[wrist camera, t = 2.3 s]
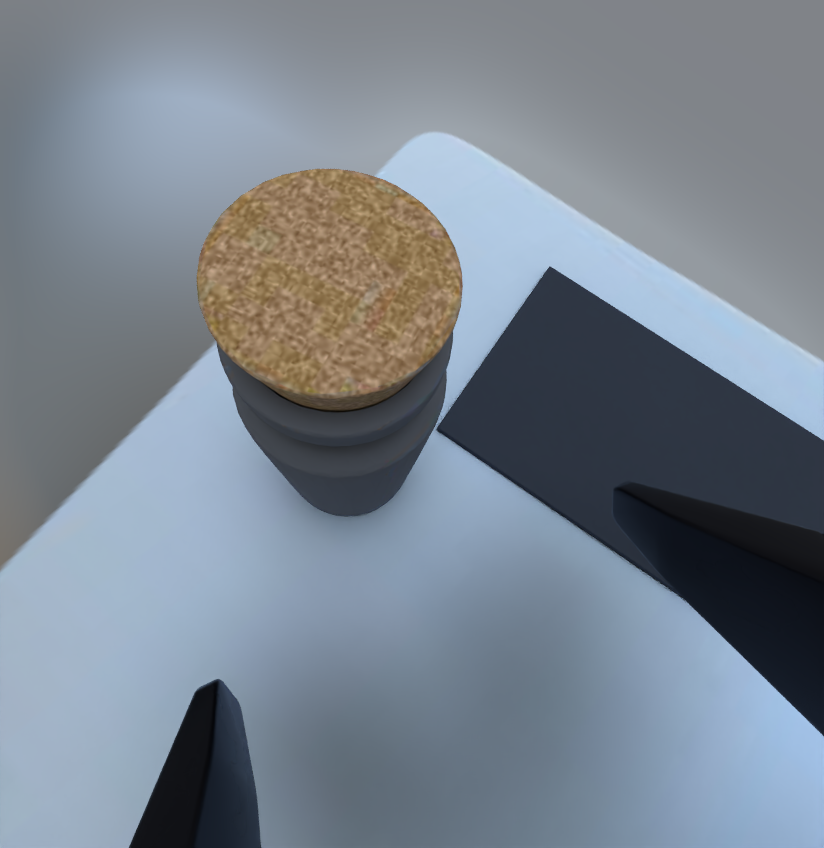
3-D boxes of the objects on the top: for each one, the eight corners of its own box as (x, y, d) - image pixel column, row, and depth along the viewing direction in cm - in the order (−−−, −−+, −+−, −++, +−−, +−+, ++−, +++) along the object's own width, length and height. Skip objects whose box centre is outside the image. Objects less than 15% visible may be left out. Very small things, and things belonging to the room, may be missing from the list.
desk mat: (852, 464, 25) (859, 463, 25) (784, 667, 22) (791, 668, 21) (547, 269, 27) (550, 265, 27) (436, 429, 23) (437, 427, 23)
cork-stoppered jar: (352, 377, 24) (341, 95, 9) (433, 457, 23) (557, 284, 9) (262, 455, 22) (83, 256, 8) (346, 544, 21) (322, 507, 7)
